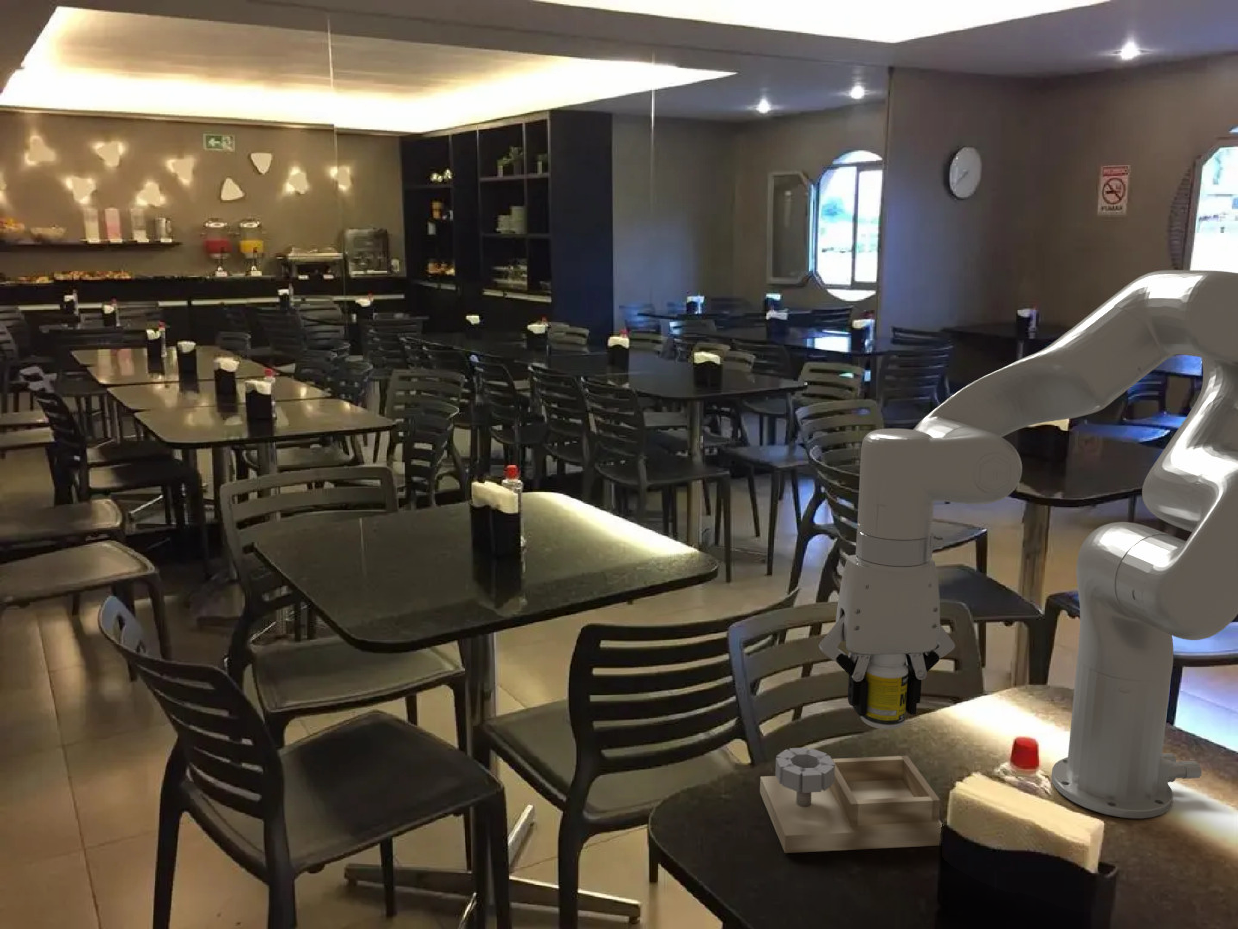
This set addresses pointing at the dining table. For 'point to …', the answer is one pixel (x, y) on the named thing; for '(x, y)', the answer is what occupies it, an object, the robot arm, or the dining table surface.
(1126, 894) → the dining table surface
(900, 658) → the supplement bottle
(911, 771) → the wooden peg tray
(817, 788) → the wheel
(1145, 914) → the dining table surface
